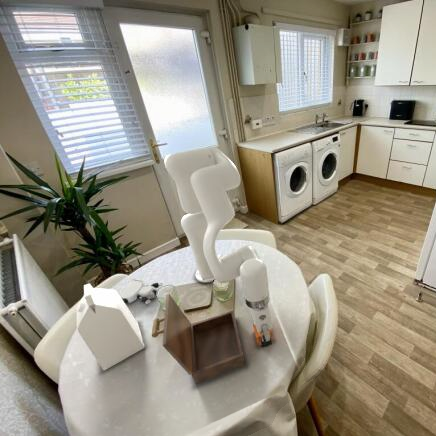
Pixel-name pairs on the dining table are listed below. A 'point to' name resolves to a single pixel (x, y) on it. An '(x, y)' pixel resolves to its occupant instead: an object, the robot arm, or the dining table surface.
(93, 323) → the milk
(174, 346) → the chest lid
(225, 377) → the dining table surface
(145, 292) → the robot toy
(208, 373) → the chest
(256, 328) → the orange cube
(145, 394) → the dining table surface
